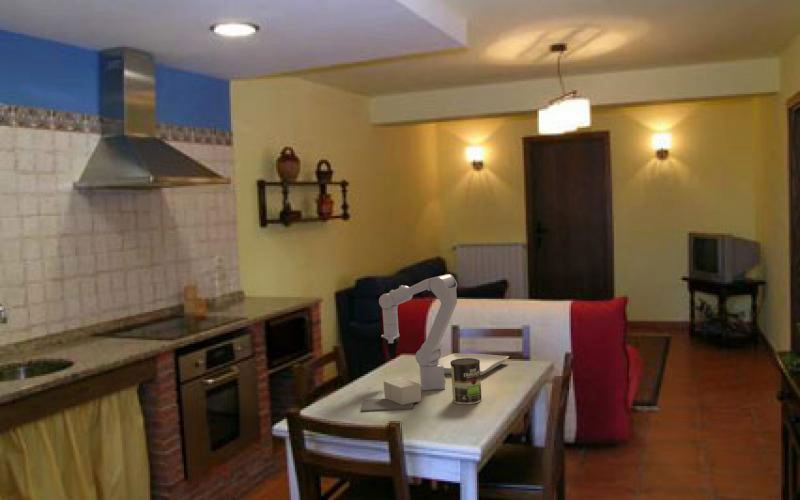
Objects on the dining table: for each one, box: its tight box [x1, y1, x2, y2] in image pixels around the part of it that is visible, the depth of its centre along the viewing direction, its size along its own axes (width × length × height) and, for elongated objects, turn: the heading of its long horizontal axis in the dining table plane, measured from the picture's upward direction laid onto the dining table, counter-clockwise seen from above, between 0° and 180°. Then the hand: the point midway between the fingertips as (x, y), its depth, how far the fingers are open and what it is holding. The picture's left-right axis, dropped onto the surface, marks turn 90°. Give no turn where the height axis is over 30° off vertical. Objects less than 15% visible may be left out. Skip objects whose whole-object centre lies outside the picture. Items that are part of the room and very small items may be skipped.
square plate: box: [438, 353, 510, 376], centre depth 301 cm, size 27×27×4 cm
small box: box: [383, 377, 422, 405], centre depth 259 cm, size 8×6×13 cm
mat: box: [360, 397, 415, 413], centre depth 255 cm, size 18×13×1 cm
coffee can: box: [450, 358, 483, 406], centre depth 254 cm, size 10×10×14 cm
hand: (393, 357), depth 283 cm, fingers closed
